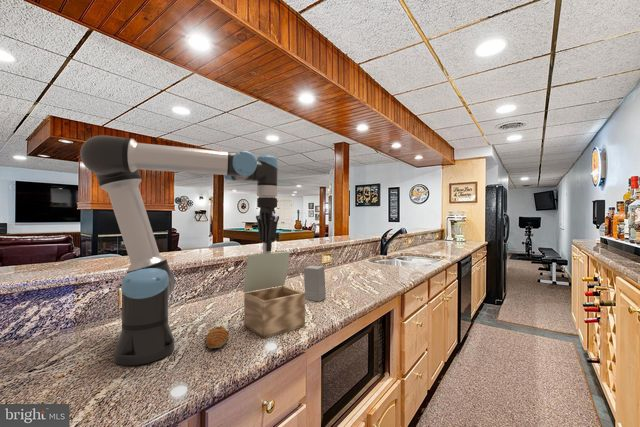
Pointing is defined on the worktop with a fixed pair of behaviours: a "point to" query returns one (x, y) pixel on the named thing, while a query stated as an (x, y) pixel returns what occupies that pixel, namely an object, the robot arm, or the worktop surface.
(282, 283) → the lid
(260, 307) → the box
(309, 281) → the skincare box
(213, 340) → the pastry
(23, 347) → the worktop surface
